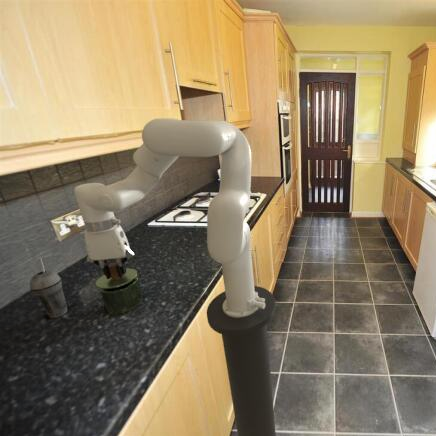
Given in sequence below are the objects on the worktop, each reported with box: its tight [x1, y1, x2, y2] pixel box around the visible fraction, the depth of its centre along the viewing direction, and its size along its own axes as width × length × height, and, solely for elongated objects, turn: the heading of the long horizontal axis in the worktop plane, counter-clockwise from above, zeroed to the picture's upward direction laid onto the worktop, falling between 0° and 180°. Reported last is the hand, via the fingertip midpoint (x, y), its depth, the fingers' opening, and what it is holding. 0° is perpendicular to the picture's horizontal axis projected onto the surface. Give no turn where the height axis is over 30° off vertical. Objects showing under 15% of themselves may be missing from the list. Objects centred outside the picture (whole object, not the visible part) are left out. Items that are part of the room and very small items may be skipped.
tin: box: [99, 276, 144, 315], centre depth 90 cm, size 10×10×8 cm
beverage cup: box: [29, 257, 68, 319], centre depth 84 cm, size 7×7×20 cm
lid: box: [95, 261, 138, 290], centre depth 87 cm, size 11×11×6 cm
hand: (116, 275), depth 88 cm, fingers closed on lid, 3 cm apart
